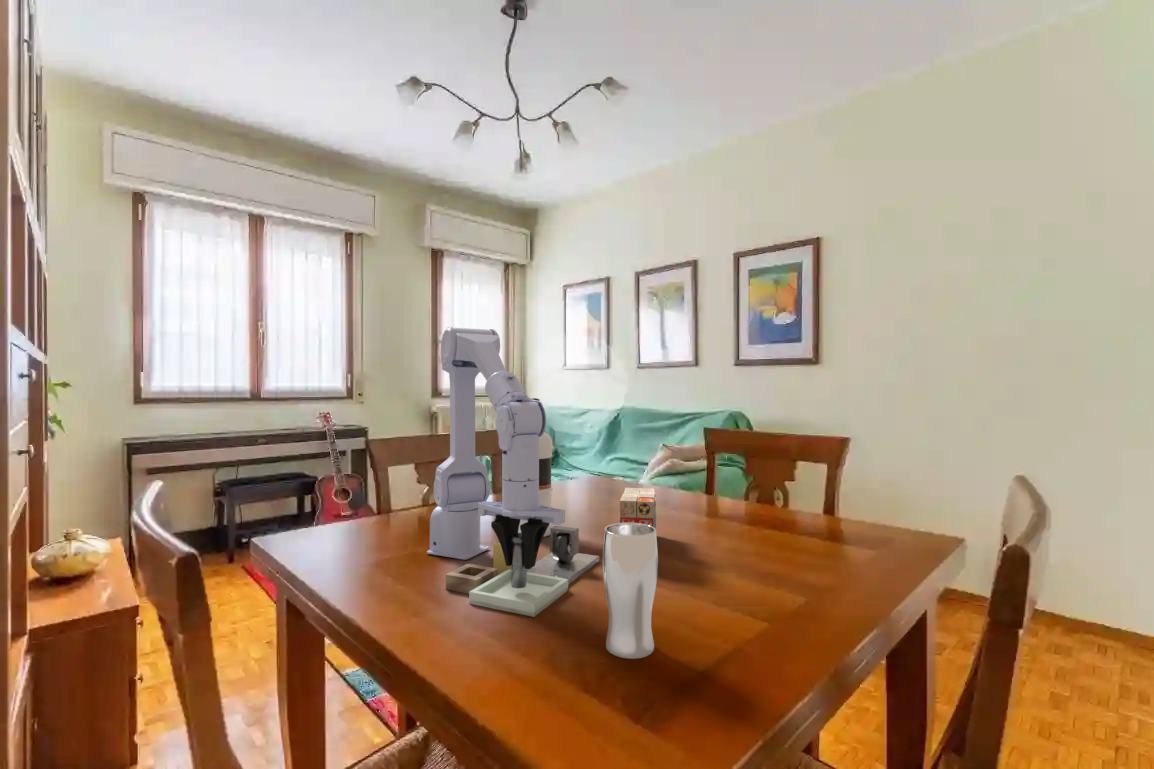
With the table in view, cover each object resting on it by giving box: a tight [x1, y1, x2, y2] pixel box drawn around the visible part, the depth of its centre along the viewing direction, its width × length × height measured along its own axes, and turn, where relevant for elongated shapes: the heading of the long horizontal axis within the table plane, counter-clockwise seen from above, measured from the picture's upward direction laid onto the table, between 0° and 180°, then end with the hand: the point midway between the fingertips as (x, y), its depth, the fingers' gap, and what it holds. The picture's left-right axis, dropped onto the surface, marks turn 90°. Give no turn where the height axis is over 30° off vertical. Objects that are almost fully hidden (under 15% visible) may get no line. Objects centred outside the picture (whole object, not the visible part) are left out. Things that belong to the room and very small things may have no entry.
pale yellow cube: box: [492, 541, 512, 575], centre depth 98 cm, size 4×4×5 cm
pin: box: [511, 533, 527, 588], centre depth 86 cm, size 3×3×8 cm
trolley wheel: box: [527, 525, 600, 585], centre depth 99 cm, size 9×15×7 cm, turn 155°
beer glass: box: [602, 522, 659, 660], centre depth 70 cm, size 7×7×15 cm
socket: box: [445, 563, 499, 595], centre depth 91 cm, size 6×6×2 cm
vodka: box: [518, 397, 555, 538], centre depth 123 cm, size 9×9×30 cm
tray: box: [468, 569, 569, 618], centre depth 86 cm, size 11×11×2 cm
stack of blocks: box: [619, 487, 657, 530], centre depth 111 cm, size 21×6×12 cm, turn 171°
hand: (520, 565), depth 86 cm, fingers closed on pin, 3 cm apart
